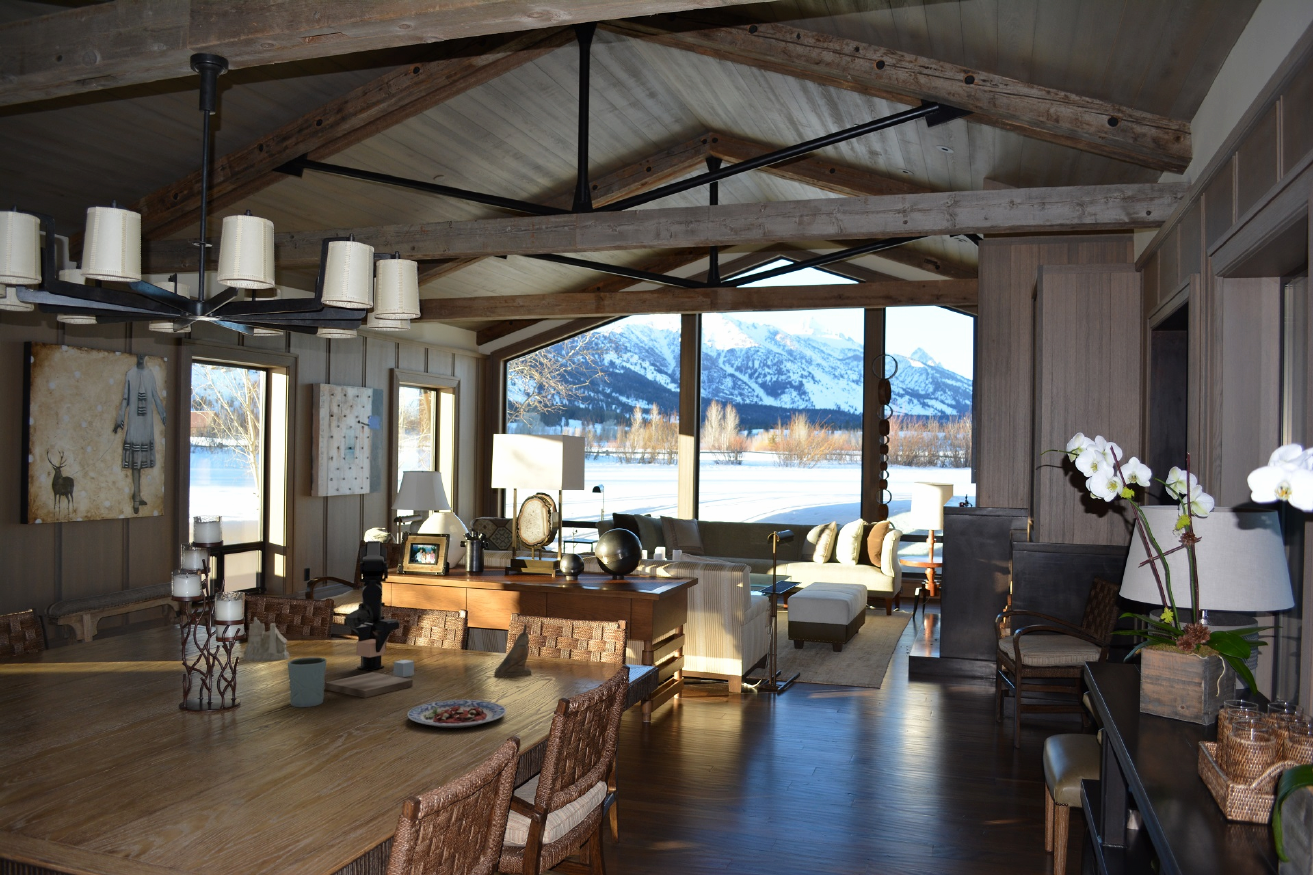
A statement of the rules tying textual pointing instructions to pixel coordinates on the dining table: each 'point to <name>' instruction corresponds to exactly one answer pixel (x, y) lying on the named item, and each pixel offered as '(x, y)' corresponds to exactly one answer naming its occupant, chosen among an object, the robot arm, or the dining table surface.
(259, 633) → the beige sandcastle sculpture
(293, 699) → the blue green cup
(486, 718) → the ceramic plate
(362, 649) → the terracotta block
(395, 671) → the grey blue cube
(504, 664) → the worn brown figurine
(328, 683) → the walnut base
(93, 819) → the dining table surface
